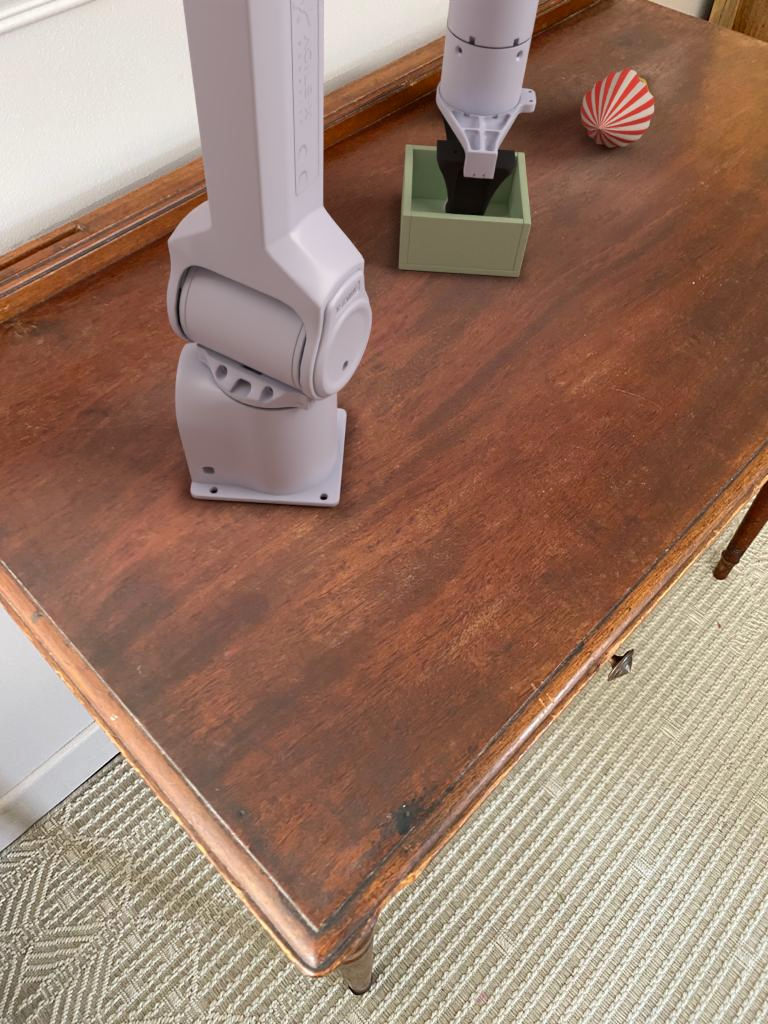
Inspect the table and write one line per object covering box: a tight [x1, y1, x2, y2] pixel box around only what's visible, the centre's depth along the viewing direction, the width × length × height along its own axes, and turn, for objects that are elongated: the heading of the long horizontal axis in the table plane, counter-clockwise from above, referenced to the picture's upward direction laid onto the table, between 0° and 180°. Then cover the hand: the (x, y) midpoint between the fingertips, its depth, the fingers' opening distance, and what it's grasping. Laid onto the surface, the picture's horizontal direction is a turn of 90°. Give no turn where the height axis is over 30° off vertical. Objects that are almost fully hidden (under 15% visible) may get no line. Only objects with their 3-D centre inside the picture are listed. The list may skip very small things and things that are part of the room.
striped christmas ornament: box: [580, 68, 655, 149], centre depth 75 cm, size 6×6×20 cm
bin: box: [398, 143, 532, 278], centre depth 65 cm, size 10×9×5 cm
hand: (462, 205), depth 64 cm, fingers closed on wristwatch, 5 cm apart
